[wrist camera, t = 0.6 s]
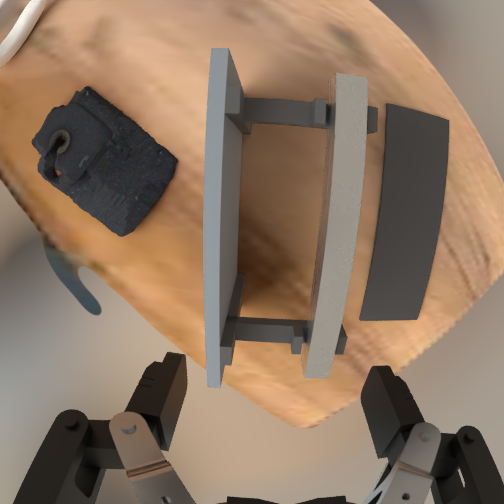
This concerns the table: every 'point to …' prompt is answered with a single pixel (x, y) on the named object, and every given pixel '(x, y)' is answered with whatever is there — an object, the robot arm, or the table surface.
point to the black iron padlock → (103, 161)
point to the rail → (337, 220)
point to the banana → (21, 30)
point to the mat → (407, 214)
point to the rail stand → (227, 212)
